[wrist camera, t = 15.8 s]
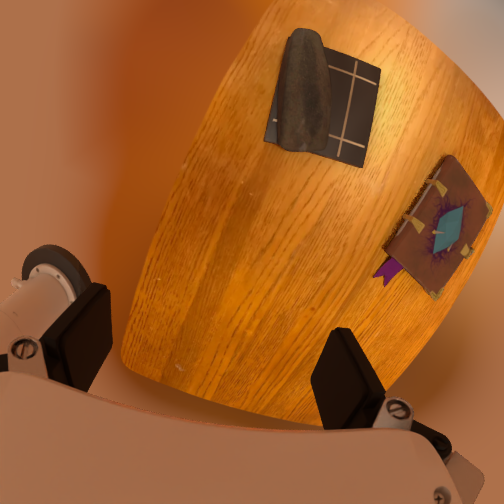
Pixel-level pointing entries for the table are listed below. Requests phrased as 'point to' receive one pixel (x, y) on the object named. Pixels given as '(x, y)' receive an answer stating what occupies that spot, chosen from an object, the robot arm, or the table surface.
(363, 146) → the board
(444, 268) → the book
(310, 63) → the decorative stone
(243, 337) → the table surface
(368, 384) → the robot arm
